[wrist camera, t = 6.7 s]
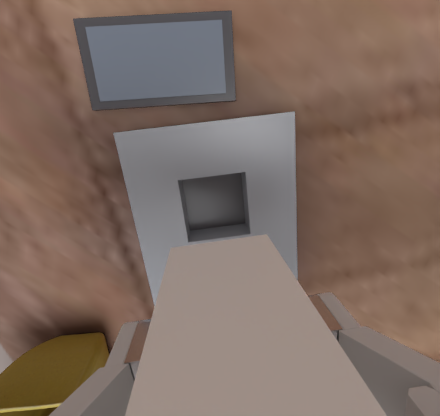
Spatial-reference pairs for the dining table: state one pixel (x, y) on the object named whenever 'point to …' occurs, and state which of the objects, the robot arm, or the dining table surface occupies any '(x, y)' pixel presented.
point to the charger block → (241, 341)
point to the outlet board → (211, 185)
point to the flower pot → (50, 374)
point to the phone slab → (157, 59)
